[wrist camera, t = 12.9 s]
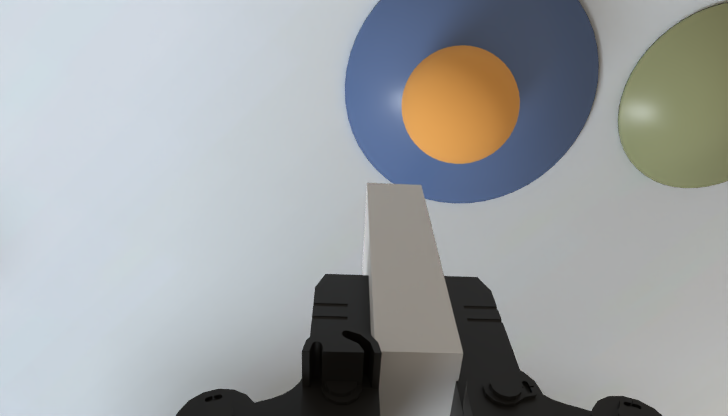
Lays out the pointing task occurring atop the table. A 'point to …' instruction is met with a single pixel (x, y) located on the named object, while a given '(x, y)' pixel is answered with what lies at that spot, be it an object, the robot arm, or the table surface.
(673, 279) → the table surface
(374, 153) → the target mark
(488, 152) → the ball
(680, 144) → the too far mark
